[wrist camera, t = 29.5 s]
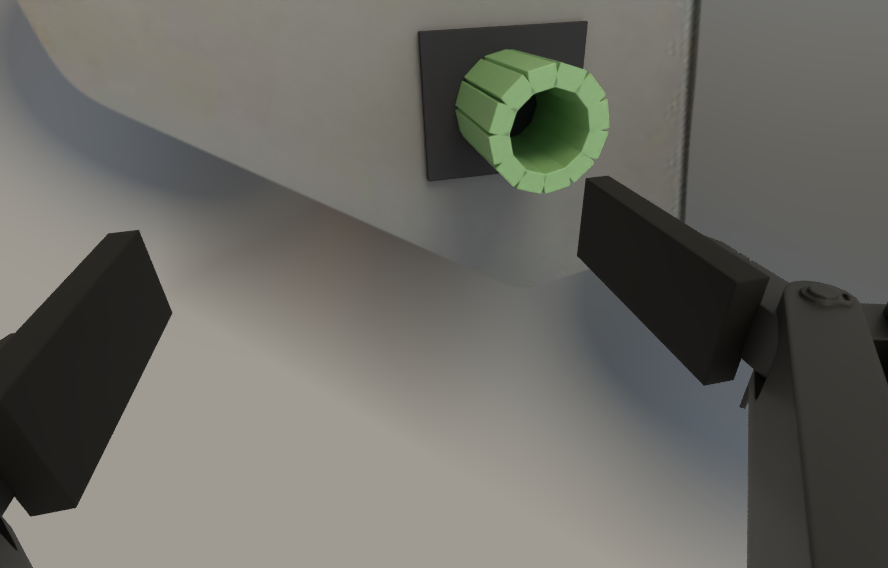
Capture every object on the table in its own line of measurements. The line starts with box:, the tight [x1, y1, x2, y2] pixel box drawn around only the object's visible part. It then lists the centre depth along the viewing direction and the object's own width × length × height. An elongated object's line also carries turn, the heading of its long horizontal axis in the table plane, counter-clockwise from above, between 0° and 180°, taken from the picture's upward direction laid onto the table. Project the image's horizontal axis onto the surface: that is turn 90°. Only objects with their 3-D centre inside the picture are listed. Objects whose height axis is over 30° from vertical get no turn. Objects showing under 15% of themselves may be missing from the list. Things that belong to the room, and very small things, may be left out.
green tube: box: [455, 49, 609, 194], centre depth 37 cm, size 9×9×10 cm
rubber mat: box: [418, 21, 588, 181], centre depth 42 cm, size 14×12×1 cm
